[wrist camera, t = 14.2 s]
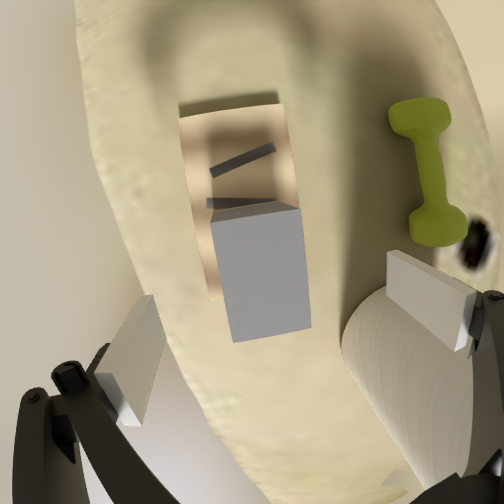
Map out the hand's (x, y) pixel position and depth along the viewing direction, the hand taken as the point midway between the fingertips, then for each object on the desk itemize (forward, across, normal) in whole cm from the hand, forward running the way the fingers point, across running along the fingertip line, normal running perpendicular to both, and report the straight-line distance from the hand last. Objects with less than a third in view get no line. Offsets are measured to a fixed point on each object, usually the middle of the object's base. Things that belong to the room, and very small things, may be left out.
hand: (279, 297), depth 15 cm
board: (+15, 0, +4) cm, 15 cm away
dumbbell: (+15, +20, +5) cm, 26 cm away
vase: (+15, +16, -15) cm, 26 cm away
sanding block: (+13, 0, -1) cm, 13 cm away
